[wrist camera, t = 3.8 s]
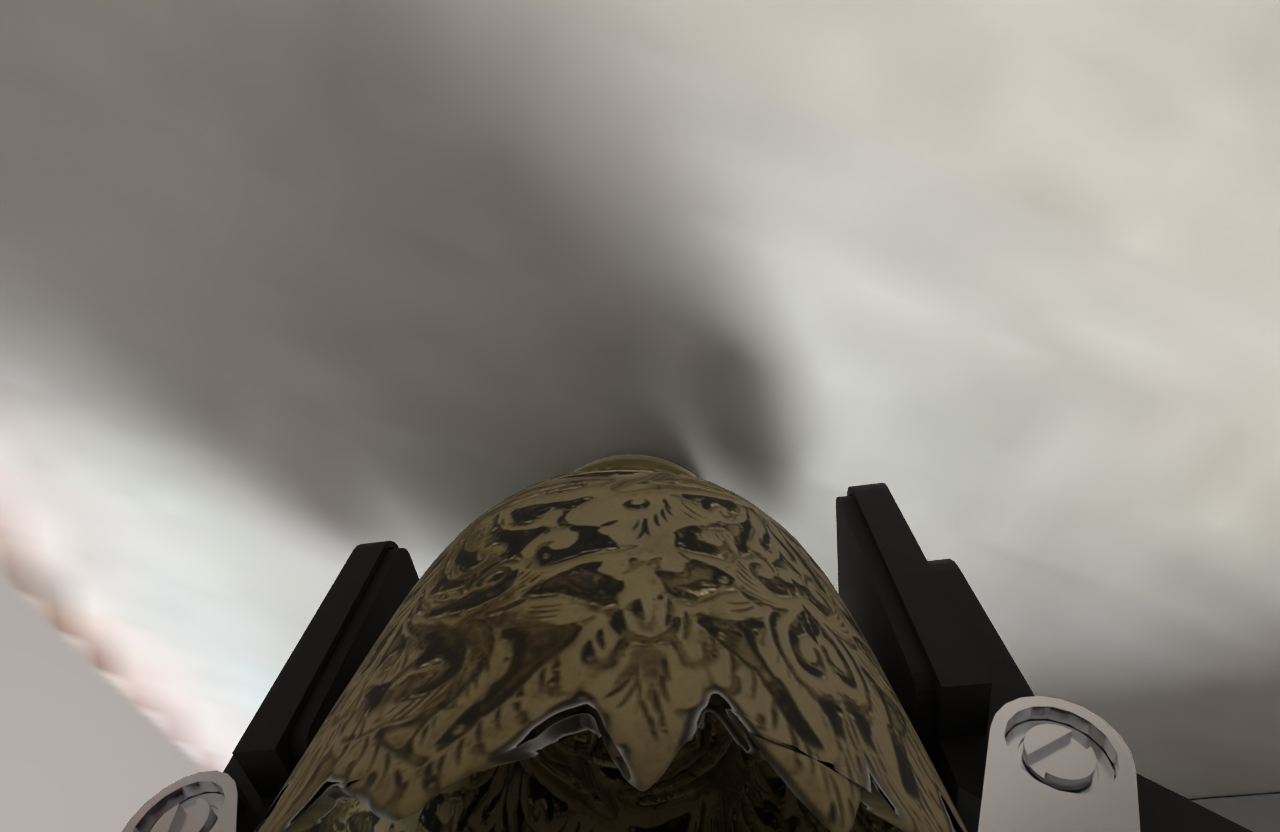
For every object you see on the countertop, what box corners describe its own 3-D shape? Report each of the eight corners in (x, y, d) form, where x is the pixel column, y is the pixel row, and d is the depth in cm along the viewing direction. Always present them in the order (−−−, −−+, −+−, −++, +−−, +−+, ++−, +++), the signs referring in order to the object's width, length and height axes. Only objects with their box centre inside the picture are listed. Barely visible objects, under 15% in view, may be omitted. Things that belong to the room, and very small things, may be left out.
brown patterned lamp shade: (584, 246, 11) (454, 623, 4) (917, 488, 13) (1241, 1036, 6) (368, 551, 14) (62, 1091, 7) (666, 710, 16) (678, 1259, 9)
